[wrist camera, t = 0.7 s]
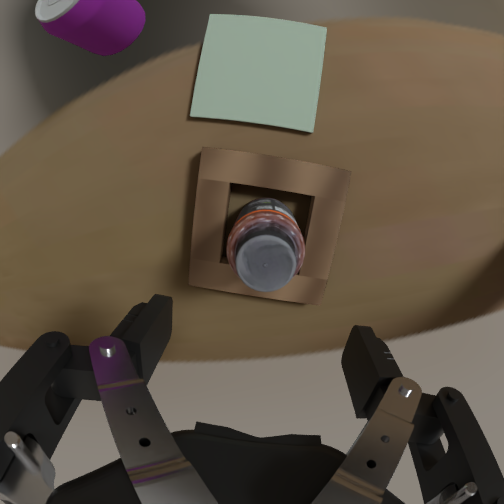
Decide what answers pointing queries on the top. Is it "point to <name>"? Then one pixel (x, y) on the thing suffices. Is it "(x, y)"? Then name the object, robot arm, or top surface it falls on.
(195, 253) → the socket block
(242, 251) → the supplement bottle
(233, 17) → the pad
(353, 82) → the top surface
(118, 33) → the beverage can
